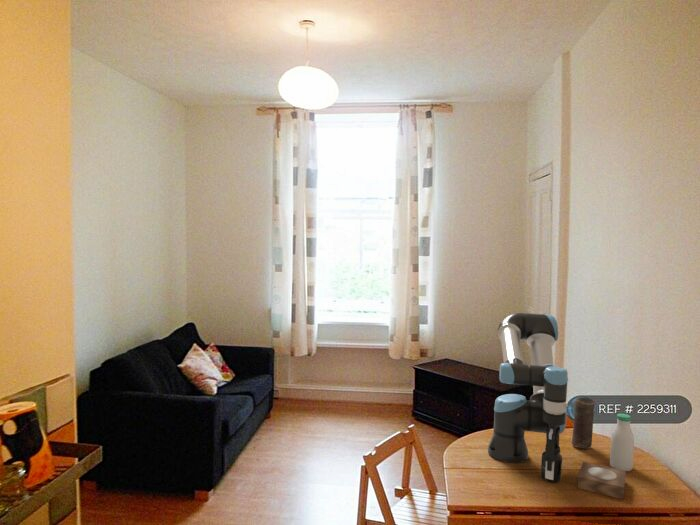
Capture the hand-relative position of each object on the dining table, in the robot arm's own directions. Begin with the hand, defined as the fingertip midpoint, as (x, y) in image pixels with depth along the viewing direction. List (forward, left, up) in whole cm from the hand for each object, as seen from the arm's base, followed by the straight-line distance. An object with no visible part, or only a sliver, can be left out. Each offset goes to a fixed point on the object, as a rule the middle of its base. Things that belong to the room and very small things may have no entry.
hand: (551, 474), depth 187 cm
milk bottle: (+21, +25, -2) cm, 33 cm away
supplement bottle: (0, 0, -2) cm, 2 cm away
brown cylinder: (+6, +37, -2) cm, 38 cm away
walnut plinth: (+16, +5, -2) cm, 17 cm away
